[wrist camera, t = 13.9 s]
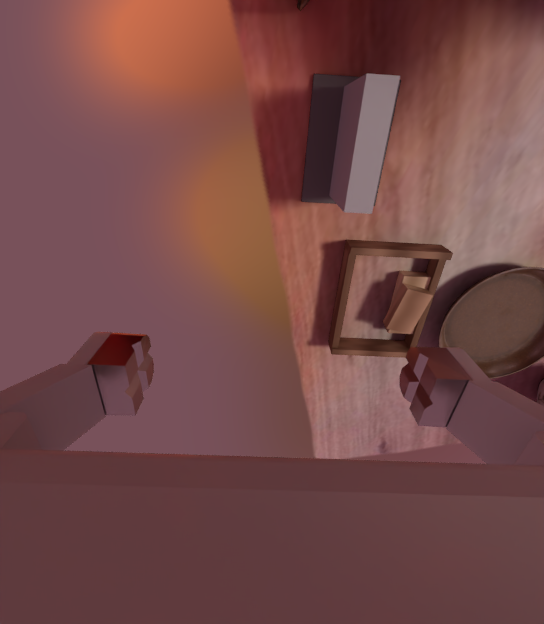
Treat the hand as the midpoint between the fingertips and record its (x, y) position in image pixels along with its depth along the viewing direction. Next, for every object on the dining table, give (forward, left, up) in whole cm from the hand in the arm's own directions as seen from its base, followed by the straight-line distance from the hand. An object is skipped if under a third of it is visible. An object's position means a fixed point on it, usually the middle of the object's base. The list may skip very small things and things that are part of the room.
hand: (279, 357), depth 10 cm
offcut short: (-21, +16, -35) cm, 44 cm away
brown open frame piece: (-18, +16, -37) cm, 44 cm away
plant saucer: (-38, +19, -38) cm, 57 cm away
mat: (-9, -5, -37) cm, 39 cm away
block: (-9, -5, -37) cm, 38 cm away
